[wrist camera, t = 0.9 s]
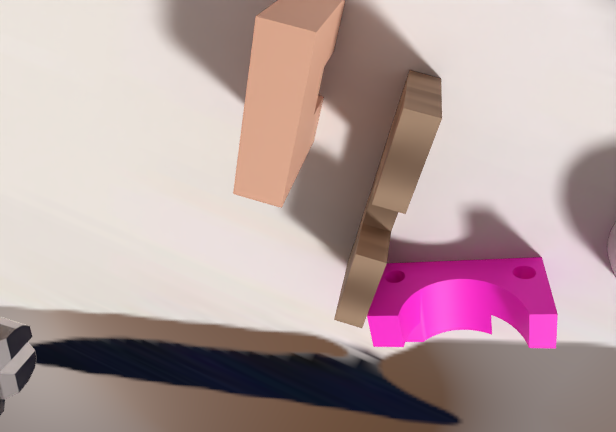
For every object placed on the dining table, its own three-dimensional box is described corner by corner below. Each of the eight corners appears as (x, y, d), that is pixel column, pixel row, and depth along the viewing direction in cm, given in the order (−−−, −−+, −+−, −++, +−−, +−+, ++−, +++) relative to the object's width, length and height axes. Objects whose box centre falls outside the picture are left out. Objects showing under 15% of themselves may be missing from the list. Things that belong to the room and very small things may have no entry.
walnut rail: (409, 70, 38) (403, 108, 32) (441, 78, 38) (441, 118, 32) (347, 262, 50) (334, 319, 43) (371, 270, 50) (361, 328, 43)
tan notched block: (275, 130, 43) (233, 193, 35) (300, -16, 37) (255, 16, 28) (313, 140, 43) (281, 207, 34) (346, -5, 36) (316, 32, 27)
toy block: (384, 309, 52) (377, 365, 46) (375, 262, 49) (367, 315, 43) (540, 307, 48) (554, 369, 42) (541, 255, 45) (557, 314, 39)
